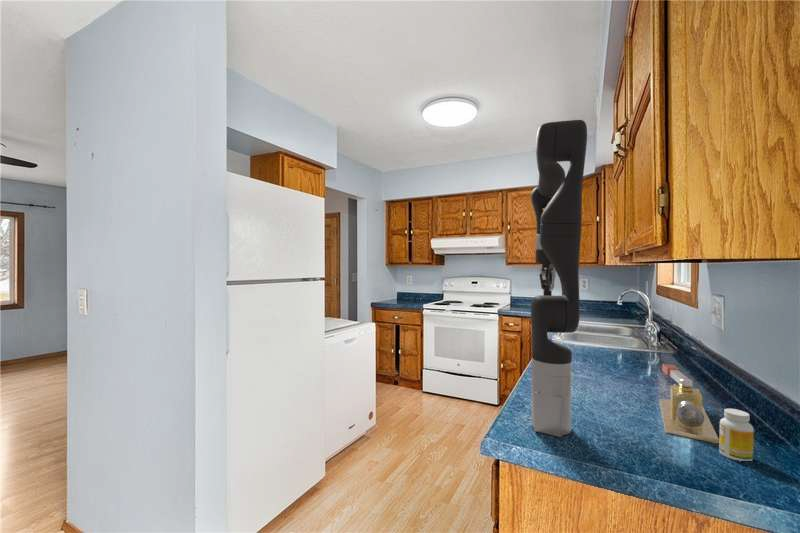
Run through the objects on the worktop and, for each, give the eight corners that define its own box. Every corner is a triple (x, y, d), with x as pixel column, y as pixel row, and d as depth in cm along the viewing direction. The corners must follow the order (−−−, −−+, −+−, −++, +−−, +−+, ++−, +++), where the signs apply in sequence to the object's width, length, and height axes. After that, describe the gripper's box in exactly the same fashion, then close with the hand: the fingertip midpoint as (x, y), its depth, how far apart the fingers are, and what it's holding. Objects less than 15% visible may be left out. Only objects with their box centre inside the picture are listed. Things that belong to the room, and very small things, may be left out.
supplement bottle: (712, 451, 80) (713, 408, 79) (730, 448, 81) (731, 405, 81) (741, 464, 74) (741, 418, 74) (759, 461, 76) (760, 415, 76)
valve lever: (694, 389, 94) (694, 381, 94) (681, 387, 95) (681, 379, 95) (673, 372, 109) (673, 364, 109) (662, 371, 110) (662, 363, 110)
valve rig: (719, 443, 83) (719, 406, 83) (665, 432, 88) (665, 397, 88) (702, 409, 103) (702, 378, 103) (659, 401, 108) (659, 372, 108)
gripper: (556, 247, 108) (556, 305, 108) (564, 249, 119) (563, 301, 119) (530, 247, 112) (530, 303, 112) (540, 249, 123) (539, 300, 123)
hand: (547, 302), depth 115 cm, fingers closed
